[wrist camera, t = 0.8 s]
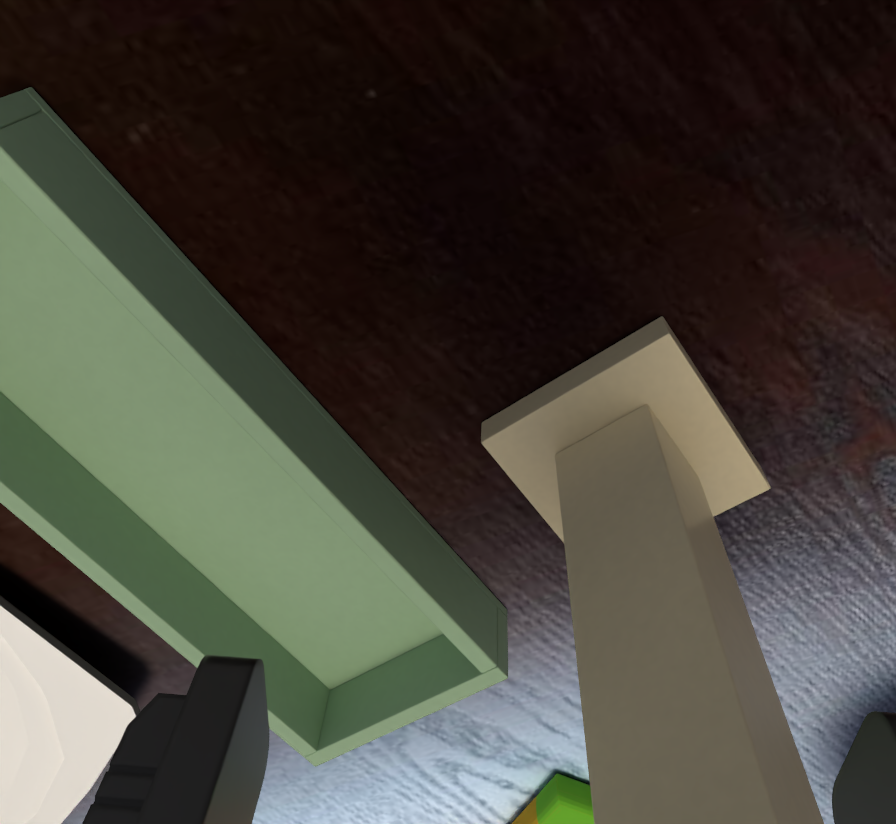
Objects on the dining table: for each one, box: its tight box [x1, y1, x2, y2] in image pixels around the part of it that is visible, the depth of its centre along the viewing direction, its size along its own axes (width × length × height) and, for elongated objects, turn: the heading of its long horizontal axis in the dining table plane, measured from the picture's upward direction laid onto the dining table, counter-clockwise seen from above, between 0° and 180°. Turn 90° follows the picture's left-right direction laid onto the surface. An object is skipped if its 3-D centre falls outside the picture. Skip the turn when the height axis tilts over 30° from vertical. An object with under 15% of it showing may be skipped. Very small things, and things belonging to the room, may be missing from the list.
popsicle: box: [512, 774, 594, 824], centre depth 44 cm, size 6×15×2 cm, turn 154°
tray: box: [0, 87, 508, 766], centre depth 33 cm, size 28×11×4 cm, turn 36°
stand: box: [481, 316, 824, 824], centre depth 19 cm, size 10×8×32 cm
